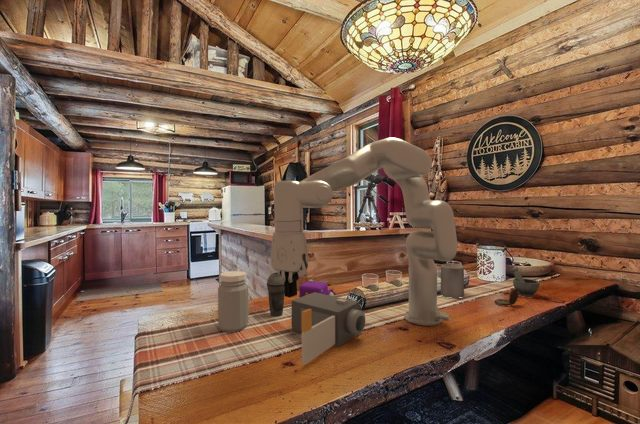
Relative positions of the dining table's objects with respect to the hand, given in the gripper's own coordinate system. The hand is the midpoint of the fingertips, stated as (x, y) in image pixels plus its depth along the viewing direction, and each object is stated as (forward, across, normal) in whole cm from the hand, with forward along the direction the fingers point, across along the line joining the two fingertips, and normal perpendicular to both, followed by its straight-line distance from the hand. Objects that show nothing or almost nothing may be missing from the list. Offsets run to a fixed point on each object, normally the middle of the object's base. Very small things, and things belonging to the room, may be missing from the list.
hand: (290, 295), depth 81 cm
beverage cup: (+17, -27, +19) cm, 37 cm away
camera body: (+17, -1, +17) cm, 24 cm away
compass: (+19, +37, +85) cm, 95 cm away
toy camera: (+17, -20, +35) cm, 44 cm away
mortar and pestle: (+20, +42, +106) cm, 116 cm away
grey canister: (+19, +17, +85) cm, 89 cm away
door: (+15, +6, +4) cm, 17 cm away
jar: (+16, -29, +2) cm, 33 cm away
